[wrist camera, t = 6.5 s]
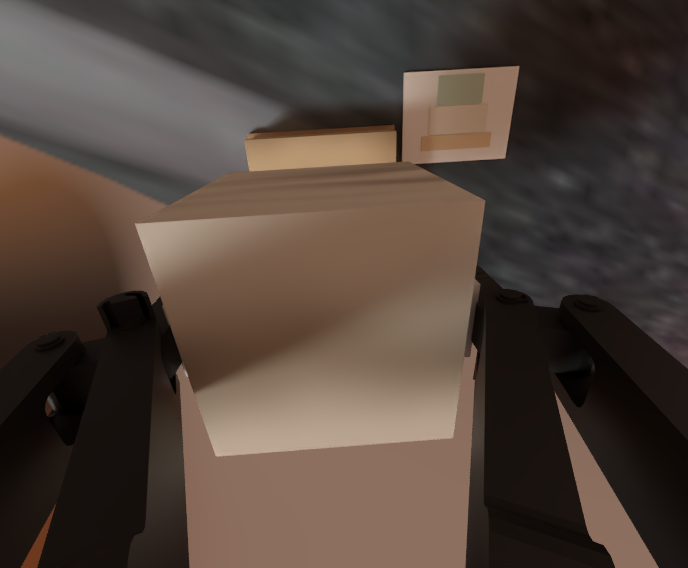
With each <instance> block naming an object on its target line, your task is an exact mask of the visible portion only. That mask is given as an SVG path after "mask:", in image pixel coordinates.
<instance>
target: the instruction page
mask: <svg viewBox="0 0 688 568" xmlns="http://www.w3.org/2000/svg"><path fill="white" fill-rule="evenodd" d="M518 73H519V66H511V67H494V68H476V69H459V70H442V71H425V72H408V73H404V81H403V124H402V162H406V161H409V162H411V163H413V164H423V163H439V162H455V161H471V160H487V159H503V158H505V156H506V150H507V143H508V137H509V131H510V124H511V118H512V111H513V105H514V98H515V92H516V86H517V79H518Z"/></svg>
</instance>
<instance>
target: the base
mask: <svg viewBox="0 0 688 568" xmlns="http://www.w3.org/2000/svg"><path fill="white" fill-rule="evenodd" d="M247 138H248V139H247V140H244V142H245V148H246V154H247V159H248V165H249V171H266V170H281V169H297V168H312V167H328V166H344V165H359V164H375V163H390V162H396V131H394V125H384V126H367V127H351V128H334V129H318V130H301V131H285V132H268V133H252V134H247Z"/></svg>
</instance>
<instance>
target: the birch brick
mask: <svg viewBox="0 0 688 568" xmlns="http://www.w3.org/2000/svg"><path fill="white" fill-rule="evenodd" d="M484 206H485V200H483V199H481V198H479V197H477V196H475V195H473V194H471V193H470V192H468V191H466V190H464V189H462V188H460V187H458V186H456V185H454V184H452V183H450V182H448V181H446V180H444V179H442V178H440V177H438V176H436V175H434V174H432V173H430V172H428V171H426V170H424V169H423V168H421V167H419V166H417V165H415V164H413V163H411V162H409V161H406V162H390V163H375V164H359V165H344V166H328V167H312V168H297V169H281V170H266V171H250V172H234V173H228V174H226V175H224V176H222V177H220V178H219V179H217V180H215V181H213V182H211V183H209V184H208V185H206V186H204V187H202V188H200V189H198V190H196V191H195V192H193V193H191V194H189V195H187V196H185V197H184V198H182V199H180V200H178V201H176V202H174V203H172V204H171V205H169V206H167V207H165V208H163V209H162V210H160V211H158V212H156V213H154V214H152V215H151V216H148V217H147V218H145V219H143V220H141V221H139V222H137V223H136V224H135V225H136V228H137V231H138V234H139V237H140V239H141V242H142V245H143V248H144V251H145V253H146V257H147V259H148V262H149V265H150V268H151V271H152V274H153V277H154V280H155V283H156V285H157V288H158V291H159V294H160V297H161V300H162V303H163V306H164V308H165V311H166V314H167V317H168V320H169V323H170V326H171V329H172V331H173V334H174V337H175V340H176V343H177V346H178V349H179V352H180V354H181V357H182V360H183V363H184V366H185V369H186V372H187V375H188V377H189V380H190V383H191V386H192V389H193V392H194V395H195V398H196V400H197V403H198V406H199V409H200V412H201V415H202V418H203V421H204V423H205V426H206V429H207V432H208V435H209V438H210V441H211V443H212V446H213V449H214V452H215V455H216V456H229V455H242V454H255V453H267V452H280V451H293V450H305V449H318V448H331V447H344V446H357V445H368V444H383V443H395V442H407V441H421V440H434V439H446V438H453V434H454V427H455V419H456V412H457V405H458V397H459V390H460V383H461V375H462V368H463V360H464V353H465V346H466V339H467V331H468V324H469V317H470V309H471V302H472V295H473V287H474V280H475V273H476V265H477V258H478V251H479V243H480V236H481V229H482V221H483V214H484Z"/></svg>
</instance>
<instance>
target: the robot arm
mask: <svg viewBox="0 0 688 568" xmlns="http://www.w3.org/2000/svg"><path fill="white" fill-rule="evenodd" d="M97 309H98V311H99V313H100V315H101V317H102V320H103V322H104V324H105V326H106V328H107V334H106V337H104V338H100V339H96V340H92V341H88V342H83V343H82V342H81V340H80V338H79V336H78V334H77V332H75V331H70V330H69V331H60V332H52V333H49V334H48V335H43V336H41V337H39V338H38V339H36V340H34V341H32V342H31V343H29V344H28V345H27V346H25V347H24V348H23V349H22V350H21V351H19V352H18V353H17V354H16V355H15V356H14V357H13V358H12V359H11V360H10V361H9V362H8V363H7V364H5V365H4V366H3V367H2V368H1V369H0V568H21V566H22V564H23V562H24V560H25V559H26V557H27V555H28V553H29V551H30V550H31V548H32V546H33V544H34V542H35V540H36V539H37V537H38V535H39V533H40V531H41V529H42V528H43V526H44V524H45V522H46V520H47V519H48V517H49V515H50V513H51V511H52V510H53V508H54V506H55V504H56V506H55V510H54V513H53V517H52V520H51V523H50V527H49V530H48V533H47V537H46V541H45V544H44V547H43V550H42V554H41V557H40V560H39V564H38V567H37V568H189V553H188V533H187V514H186V495H185V478H184V477H185V476H184V457H183V438H182V420H181V402H180V401H181V400H180V383H179V380H178V377H177V374H176V371H177V369H178V368H179V366H180V365H181V363H182V366H183V369H184V372H185V374H186V377H188V375H187V372H186V369H185V366H184V363H183V360H182V357H181V354H180V352H179V349H178V346H177V343H176V340H175V337H174V334H173V331H172V329H171V326H170V323H169V320H168V317H167V314H166V311H165V308H164V306H163V303H162V300H161V297H159V298H158V299H157V300H156V302H155V303H154V304H153V305H151V302H150V299H149V297H148V294H147V293H146V292H144V291H129V292H124V293H120V294H117V295H114V296H112V297H109V298H107V299H105V300H104V301H102V302H101V303H100V304H99V305H98V306H97ZM472 343H473V344H474V345H475V347H476V349H477V350H478V351H477V357H476V363H475V371H474V377H473V379H474V380H475V389H474V409H473V428H472V448H471V468H470V488H469V509H468V529H467V549H466V568H615V566H614V563H613V561H612V558H611V556H610V554H609V553H608V551H607V550H606V548H605V547H604V545H601V544H599V543H596V542H594V541H592V539H591V537H590V536H589V534H588V531H587V527H586V524H585V519H584V515H583V512H582V507H581V502H580V498H579V494H578V490H577V486H576V482H575V477H574V473H573V469H572V464H571V460H570V456H569V452H568V447H567V443H566V440H565V435H564V430H563V426H562V422H561V418H560V414H559V409H558V405H557V401H556V397H555V393H556V394H557V396H558V398H559V400H560V401H561V403H562V405H563V406H564V408H565V410H566V411H567V413H568V414H569V416H570V418H571V420H572V422H573V423H574V425H575V427H576V428H577V430H578V432H579V433H580V435H581V437H582V438H583V440H584V442H585V444H586V445H587V447H588V449H589V450H590V452H591V454H592V455H593V457H594V459H595V460H596V462H597V464H598V466H599V467H600V469H601V471H602V472H603V474H604V475H605V477H606V479H607V481H608V482H609V484H610V486H611V487H612V489H613V491H614V493H615V494H616V496H617V498H618V499H619V501H620V502H621V504H622V506H623V508H624V509H625V511H626V513H627V515H628V516H629V518H630V519H631V521H632V523H633V524H634V526H635V528H636V530H637V531H638V533H639V535H640V536H641V538H642V540H643V542H644V543H645V545H646V546H647V548H648V550H649V552H650V553H651V555H652V557H653V558H654V560H655V562H656V563H657V565H658V567H659V568H688V369H687V368H686V367H685V366H683V365H682V364H681V363H680V362H679V361H678V360H676V359H675V358H674V357H673V356H672V355H671V354H669V353H668V352H667V351H666V350H665V349H663V348H662V347H661V346H660V345H659V344H658V343H656V342H655V341H654V340H653V339H652V338H651V337H649V336H648V335H647V334H646V333H645V332H644V331H642V330H641V329H640V328H639V327H638V326H636V325H635V324H634V323H633V322H632V321H631V320H629V319H628V318H627V317H626V316H625V315H624V314H622V313H621V312H620V311H619V310H618V309H617V308H615V307H614V306H613V305H611V304H610V303H608V302H607V301H604V300H602V299H599V298H598V297H595V296H591V295H577V294H576V295H568V296H565V297H563V299H562V301H561V305H560V308H551V307H540V306H534V303H533V301H532V299H531V298H530V297H529V296H528V295H526V294H524V293H522V292H519V291H516V290H511V289H503V288H502V287H501V286H500V285H499V284H497V283H496V282H495V281H494V280H493V279H492V278H491V277H490V276H489V275H488V274H486V272H485V271H484V270H483V269H482V268H481V267H479V266H477V265H476V273H475V280H474V287H473V295H472V302H471V309H470V317H469V324H468V331H467V339H466V346H465V353H464V357H469V356H470V353H471V346H472ZM554 391H555V392H554ZM47 400H48V402H49V403H50V405H51V407H52V408H53V409H52V411H51V412H50V414H49V415H48V416H47V415H46V412H45V403H46V401H47ZM56 502H57V503H56Z"/></svg>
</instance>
